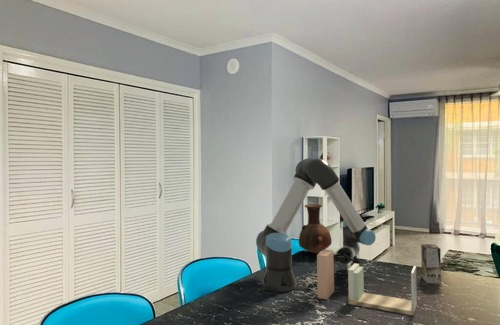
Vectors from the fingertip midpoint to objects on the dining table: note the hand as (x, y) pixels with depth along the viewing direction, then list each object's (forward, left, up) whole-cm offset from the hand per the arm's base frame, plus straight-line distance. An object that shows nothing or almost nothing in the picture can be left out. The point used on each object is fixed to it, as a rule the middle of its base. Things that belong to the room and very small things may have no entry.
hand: (333, 265), depth 163 cm
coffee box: (+38, +31, -10) cm, 50 cm away
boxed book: (0, -9, -10) cm, 14 cm away
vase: (-27, +53, -10) cm, 60 cm away
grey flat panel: (+34, -9, -8) cm, 37 cm away
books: (+13, -9, -8) cm, 18 cm away
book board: (+23, -9, -10) cm, 26 cm away
